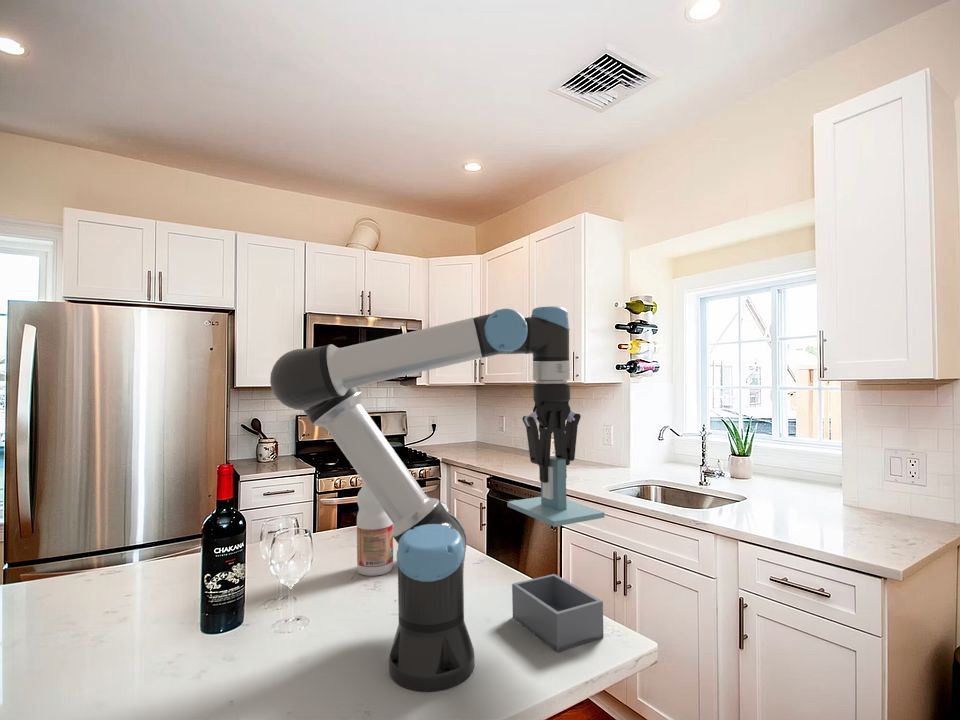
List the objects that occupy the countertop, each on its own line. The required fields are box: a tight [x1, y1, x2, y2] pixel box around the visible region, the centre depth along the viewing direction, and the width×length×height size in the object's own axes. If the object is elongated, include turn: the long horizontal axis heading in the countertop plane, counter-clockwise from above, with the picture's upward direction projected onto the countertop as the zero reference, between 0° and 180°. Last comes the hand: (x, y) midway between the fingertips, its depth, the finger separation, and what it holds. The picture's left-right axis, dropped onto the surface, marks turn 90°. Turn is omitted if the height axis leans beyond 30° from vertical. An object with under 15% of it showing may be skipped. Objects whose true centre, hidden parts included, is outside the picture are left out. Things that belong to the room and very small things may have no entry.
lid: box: [506, 455, 605, 528], centre depth 107 cm, size 17×12×11 cm
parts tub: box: [511, 573, 604, 653], centre depth 106 cm, size 16×11×7 cm
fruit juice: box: [356, 482, 394, 577], centre depth 139 cm, size 9×9×28 cm
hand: (553, 497), depth 107 cm, fingers closed on lid, 2 cm apart
